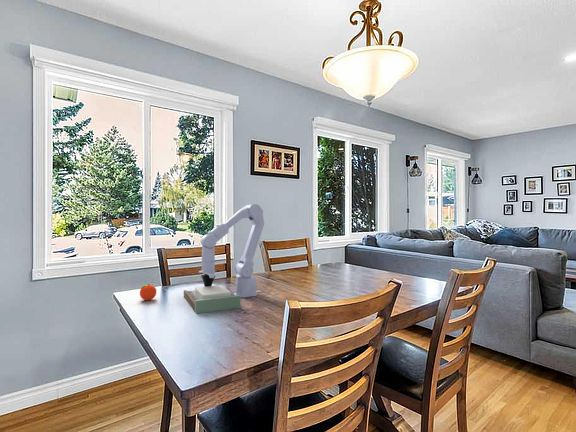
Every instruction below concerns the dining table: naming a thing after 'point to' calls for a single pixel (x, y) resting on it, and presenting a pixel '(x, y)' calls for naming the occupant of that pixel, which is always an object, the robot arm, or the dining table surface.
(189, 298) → the roller track
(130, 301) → the dining table surface
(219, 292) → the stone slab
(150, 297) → the clementine
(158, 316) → the dining table surface
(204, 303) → the bar
